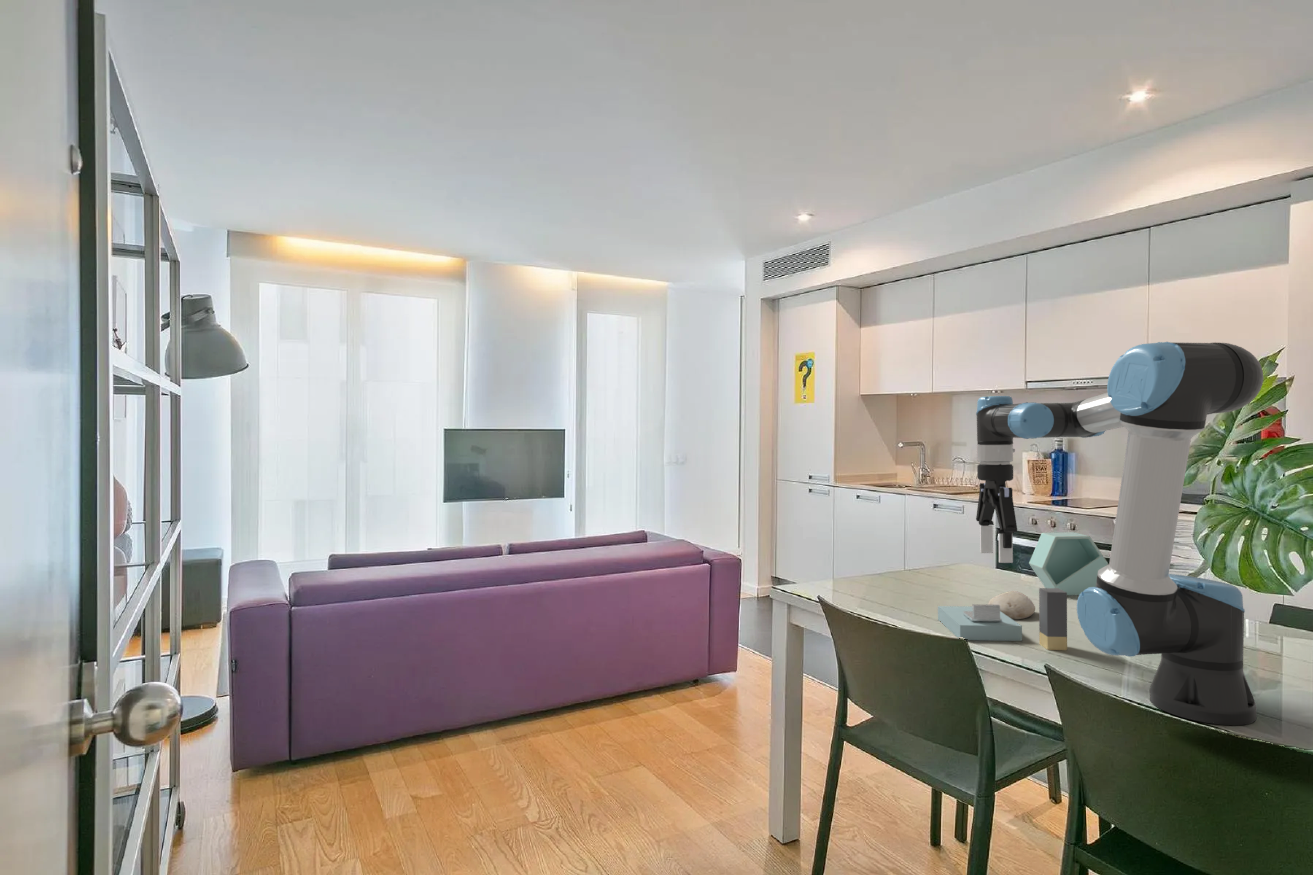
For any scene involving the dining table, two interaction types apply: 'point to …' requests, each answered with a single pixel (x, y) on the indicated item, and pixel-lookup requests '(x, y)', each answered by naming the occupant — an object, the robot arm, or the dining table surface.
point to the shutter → (984, 613)
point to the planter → (1067, 561)
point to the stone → (1014, 604)
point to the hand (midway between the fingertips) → (995, 557)
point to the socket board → (978, 625)
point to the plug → (1053, 618)
